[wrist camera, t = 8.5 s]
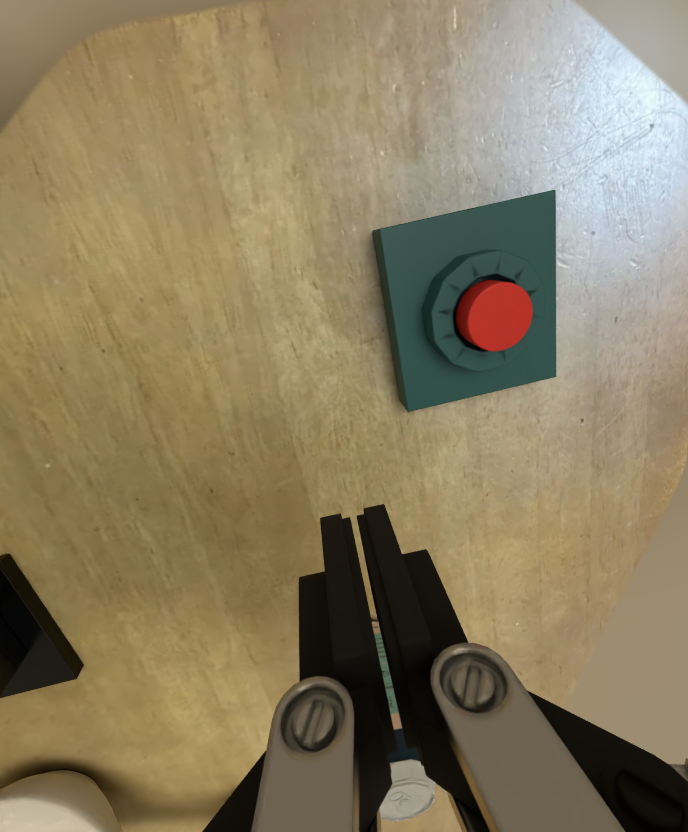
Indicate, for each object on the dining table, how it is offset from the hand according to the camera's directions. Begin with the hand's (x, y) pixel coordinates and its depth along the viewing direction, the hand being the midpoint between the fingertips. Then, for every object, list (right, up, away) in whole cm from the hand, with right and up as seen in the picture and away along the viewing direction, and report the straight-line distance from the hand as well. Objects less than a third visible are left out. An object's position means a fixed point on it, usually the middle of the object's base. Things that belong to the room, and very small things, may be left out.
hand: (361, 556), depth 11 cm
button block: (+7, +11, +16) cm, 21 cm away
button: (+8, +9, +13) cm, 18 cm away
